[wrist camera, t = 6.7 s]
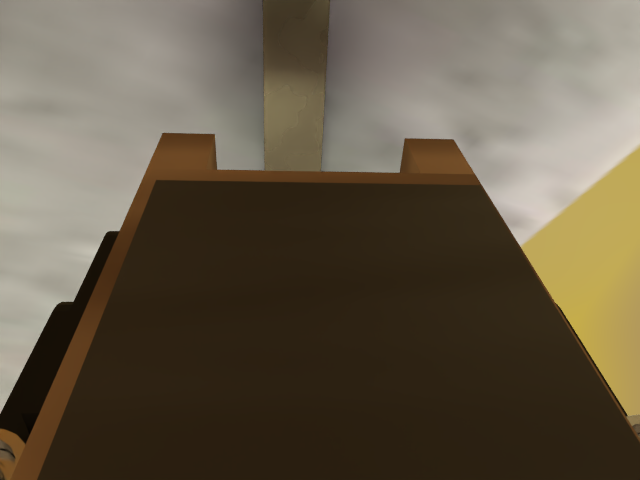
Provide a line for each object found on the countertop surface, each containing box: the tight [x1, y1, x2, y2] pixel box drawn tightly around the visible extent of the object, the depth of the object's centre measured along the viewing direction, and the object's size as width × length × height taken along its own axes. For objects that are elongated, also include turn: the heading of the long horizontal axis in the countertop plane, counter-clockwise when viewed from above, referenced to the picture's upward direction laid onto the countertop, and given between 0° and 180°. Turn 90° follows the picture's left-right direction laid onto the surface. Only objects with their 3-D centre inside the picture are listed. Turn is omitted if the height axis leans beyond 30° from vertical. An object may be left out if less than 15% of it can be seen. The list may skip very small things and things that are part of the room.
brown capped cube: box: [10, 133, 640, 480], centre depth 9 cm, size 6×6×8 cm
